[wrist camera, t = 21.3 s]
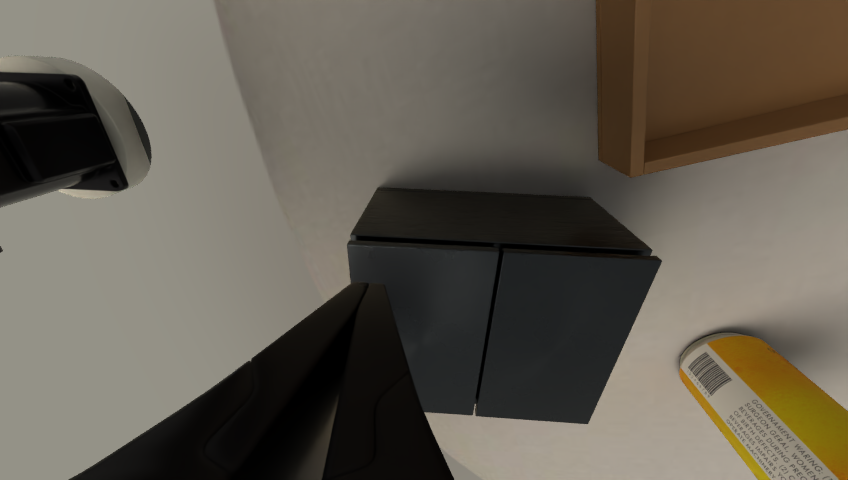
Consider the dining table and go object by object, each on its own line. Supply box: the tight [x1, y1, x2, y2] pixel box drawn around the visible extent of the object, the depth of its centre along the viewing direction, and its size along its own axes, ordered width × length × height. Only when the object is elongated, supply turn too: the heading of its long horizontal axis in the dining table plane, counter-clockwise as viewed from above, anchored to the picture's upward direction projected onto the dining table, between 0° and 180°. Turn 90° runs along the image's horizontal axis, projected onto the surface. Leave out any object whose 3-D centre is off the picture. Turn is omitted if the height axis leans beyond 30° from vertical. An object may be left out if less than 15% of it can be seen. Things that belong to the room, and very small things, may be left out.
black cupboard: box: [350, 187, 662, 424], centre depth 19 cm, size 13×11×7 cm
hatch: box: [347, 240, 499, 415], centre depth 16 cm, size 6×11×1 cm, turn 178°
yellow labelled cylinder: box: [679, 333, 848, 480], centre depth 18 cm, size 6×6×15 cm
